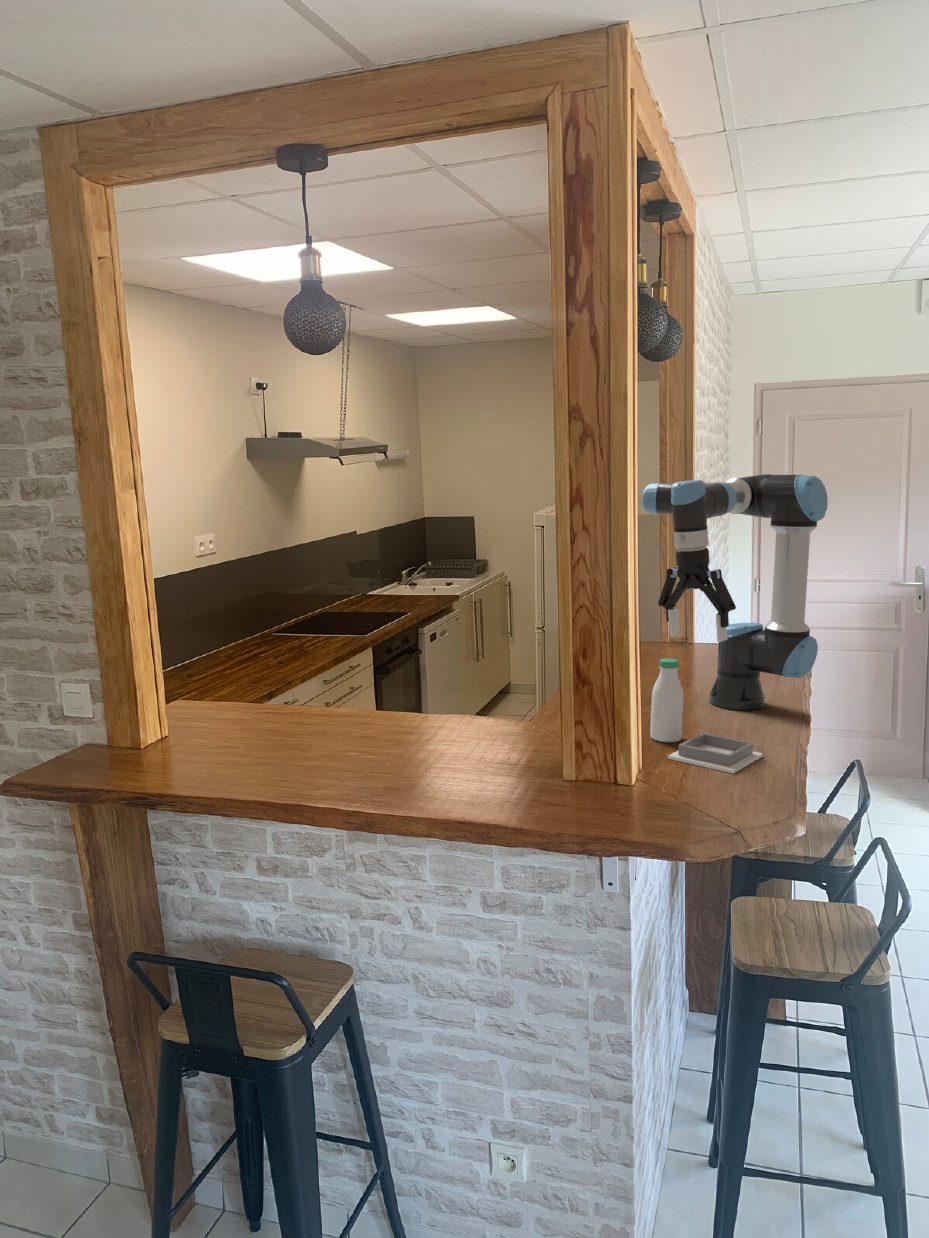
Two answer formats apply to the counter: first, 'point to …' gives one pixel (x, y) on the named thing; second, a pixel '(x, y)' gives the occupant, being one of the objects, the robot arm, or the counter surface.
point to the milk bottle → (667, 704)
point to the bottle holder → (716, 753)
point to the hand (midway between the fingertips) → (698, 638)
